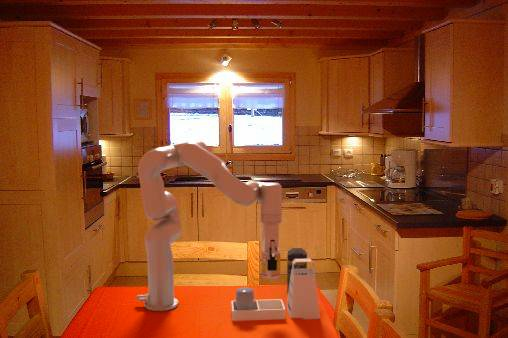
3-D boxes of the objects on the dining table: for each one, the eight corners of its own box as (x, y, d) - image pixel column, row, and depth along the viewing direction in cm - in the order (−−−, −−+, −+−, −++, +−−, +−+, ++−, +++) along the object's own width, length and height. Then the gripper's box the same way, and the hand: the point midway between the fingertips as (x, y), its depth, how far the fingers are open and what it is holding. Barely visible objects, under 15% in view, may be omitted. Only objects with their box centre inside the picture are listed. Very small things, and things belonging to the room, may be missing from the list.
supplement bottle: (282, 274, 189) (282, 240, 187) (277, 280, 183) (277, 244, 181) (264, 272, 191) (264, 238, 190) (259, 278, 185) (259, 242, 183)
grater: (286, 308, 195) (286, 256, 193) (313, 307, 196) (314, 255, 194) (290, 319, 185) (291, 264, 183) (319, 318, 186) (320, 264, 184)
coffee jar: (286, 290, 215) (287, 246, 212) (306, 290, 214) (306, 246, 212) (286, 298, 205) (287, 252, 203) (307, 299, 205) (307, 253, 202)
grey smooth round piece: (236, 318, 184) (236, 294, 183) (235, 311, 191) (235, 287, 190) (254, 318, 185) (254, 293, 184) (253, 310, 191) (253, 287, 190)
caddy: (232, 322, 183) (232, 311, 182) (231, 311, 192) (231, 300, 192) (285, 320, 184) (285, 309, 184) (281, 309, 194) (281, 299, 193)
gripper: (258, 213, 193) (258, 260, 195) (262, 223, 176) (262, 275, 178) (278, 212, 193) (278, 259, 195) (285, 223, 176) (284, 274, 178)
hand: (270, 266), depth 187 cm, fingers closed on supplement bottle, 6 cm apart
